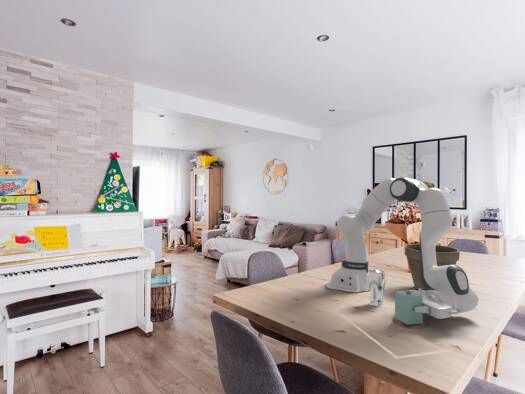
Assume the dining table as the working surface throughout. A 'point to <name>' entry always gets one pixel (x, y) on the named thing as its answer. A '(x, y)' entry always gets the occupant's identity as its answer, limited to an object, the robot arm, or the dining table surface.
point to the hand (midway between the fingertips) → (406, 305)
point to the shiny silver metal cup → (376, 286)
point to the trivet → (411, 326)
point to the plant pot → (442, 257)
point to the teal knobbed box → (408, 307)
